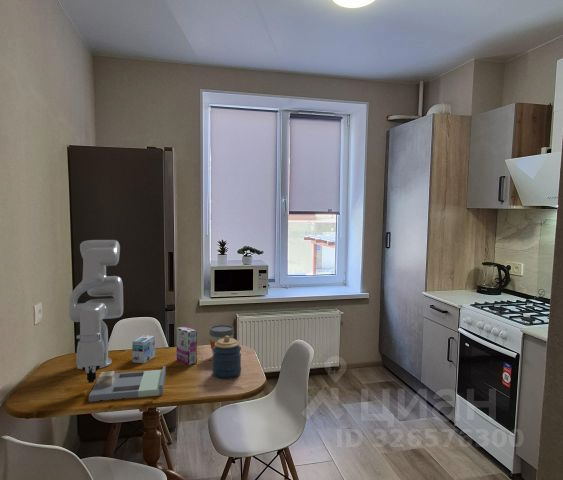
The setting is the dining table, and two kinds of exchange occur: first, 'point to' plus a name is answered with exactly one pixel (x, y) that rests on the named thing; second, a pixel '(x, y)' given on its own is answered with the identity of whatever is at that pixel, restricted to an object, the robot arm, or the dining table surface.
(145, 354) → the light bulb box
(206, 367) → the dining table surface
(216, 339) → the reusable coffee cup
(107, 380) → the clear glass block
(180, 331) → the candy bar box
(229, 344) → the canister
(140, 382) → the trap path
